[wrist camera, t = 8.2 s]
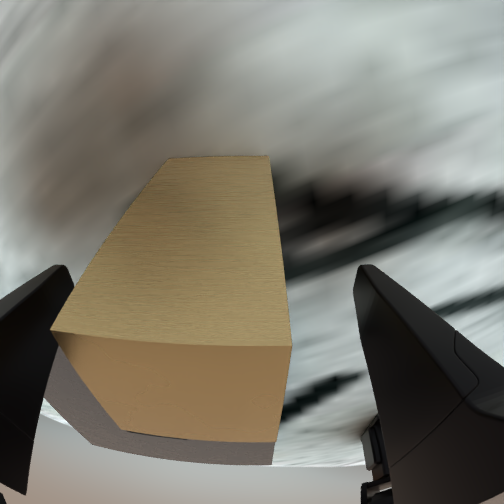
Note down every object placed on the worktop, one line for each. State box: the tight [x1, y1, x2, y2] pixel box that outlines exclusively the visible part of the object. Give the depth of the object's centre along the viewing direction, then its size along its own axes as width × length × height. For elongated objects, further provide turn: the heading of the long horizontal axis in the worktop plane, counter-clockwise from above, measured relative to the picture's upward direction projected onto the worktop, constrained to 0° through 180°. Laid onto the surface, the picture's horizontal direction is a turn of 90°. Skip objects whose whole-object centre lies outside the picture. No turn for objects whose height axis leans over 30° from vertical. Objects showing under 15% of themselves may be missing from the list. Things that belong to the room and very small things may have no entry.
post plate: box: [44, 346, 275, 465], centre depth 21 cm, size 20×20×2 cm
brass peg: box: [50, 156, 292, 442], centre depth 9 cm, size 4×4×9 cm
